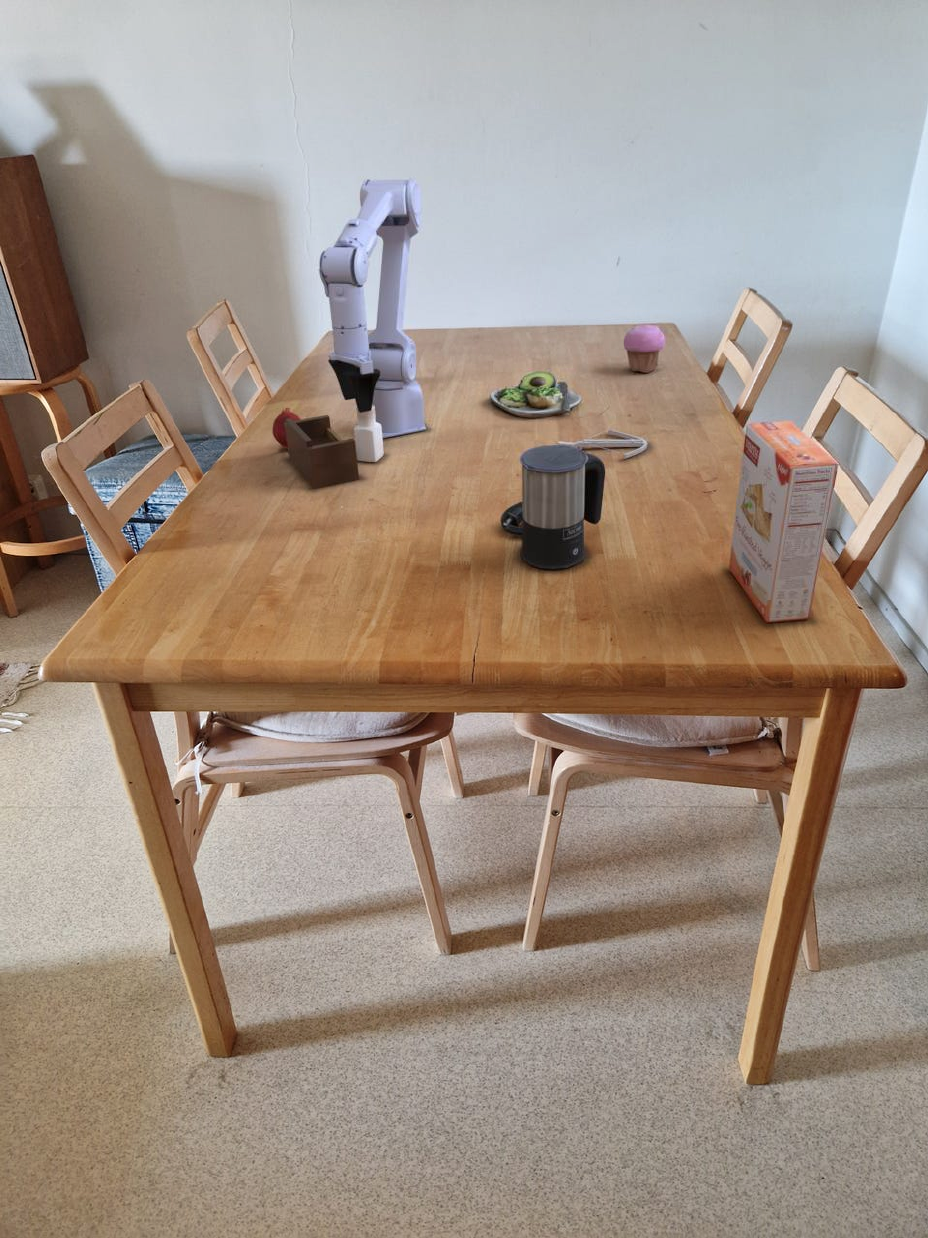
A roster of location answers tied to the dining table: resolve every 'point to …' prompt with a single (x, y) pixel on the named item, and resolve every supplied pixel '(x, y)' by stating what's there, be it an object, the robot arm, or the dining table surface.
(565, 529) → the milk frother
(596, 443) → the crossbow
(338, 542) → the dining table surface
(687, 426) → the dining table surface
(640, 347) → the cupcake
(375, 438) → the pepper shaker
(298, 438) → the box
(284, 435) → the onion
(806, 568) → the cracker box
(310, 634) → the dining table surface
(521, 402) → the salad plate
